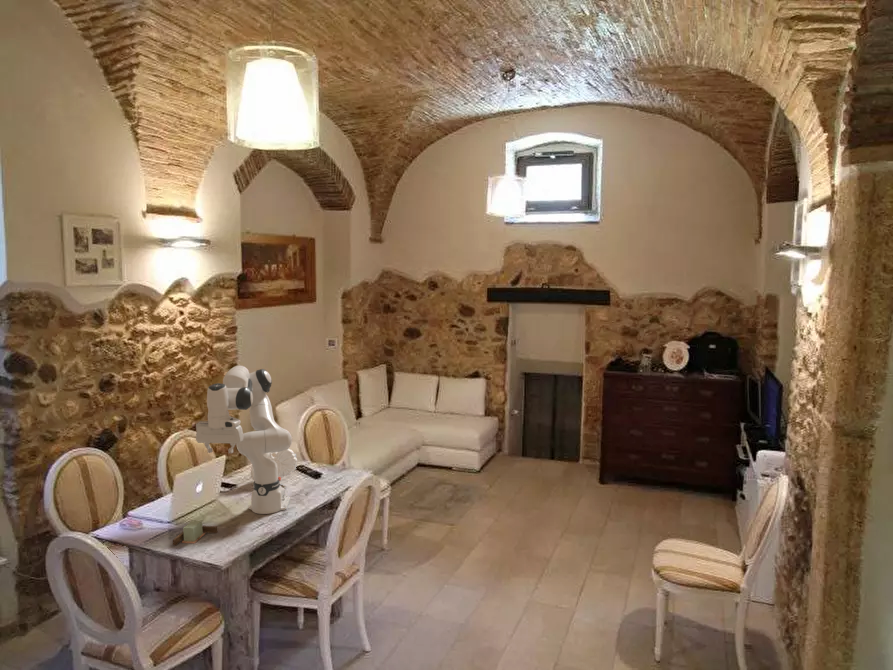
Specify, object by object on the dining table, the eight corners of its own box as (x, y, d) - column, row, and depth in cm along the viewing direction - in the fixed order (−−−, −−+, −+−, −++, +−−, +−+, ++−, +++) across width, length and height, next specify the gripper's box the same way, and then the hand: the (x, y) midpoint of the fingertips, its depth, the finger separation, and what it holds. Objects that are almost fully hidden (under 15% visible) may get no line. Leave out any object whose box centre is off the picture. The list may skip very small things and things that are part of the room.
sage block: (184, 541, 278) (183, 527, 278) (193, 533, 286) (192, 520, 286) (193, 541, 278) (193, 528, 277) (202, 533, 286) (202, 520, 285)
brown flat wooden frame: (190, 530, 290) (190, 525, 290) (217, 531, 289) (217, 526, 288) (172, 545, 275) (172, 539, 275) (201, 546, 274) (201, 540, 273)
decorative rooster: (245, 486, 346) (243, 441, 344) (261, 477, 361) (259, 433, 359) (286, 490, 339) (284, 444, 336) (301, 481, 354) (299, 436, 351)
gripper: (192, 423, 278) (194, 454, 279) (238, 423, 276) (239, 455, 277) (199, 419, 284) (201, 450, 286) (244, 420, 282) (245, 450, 284)
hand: (220, 452), depth 282 cm, fingers open, 8 cm apart
